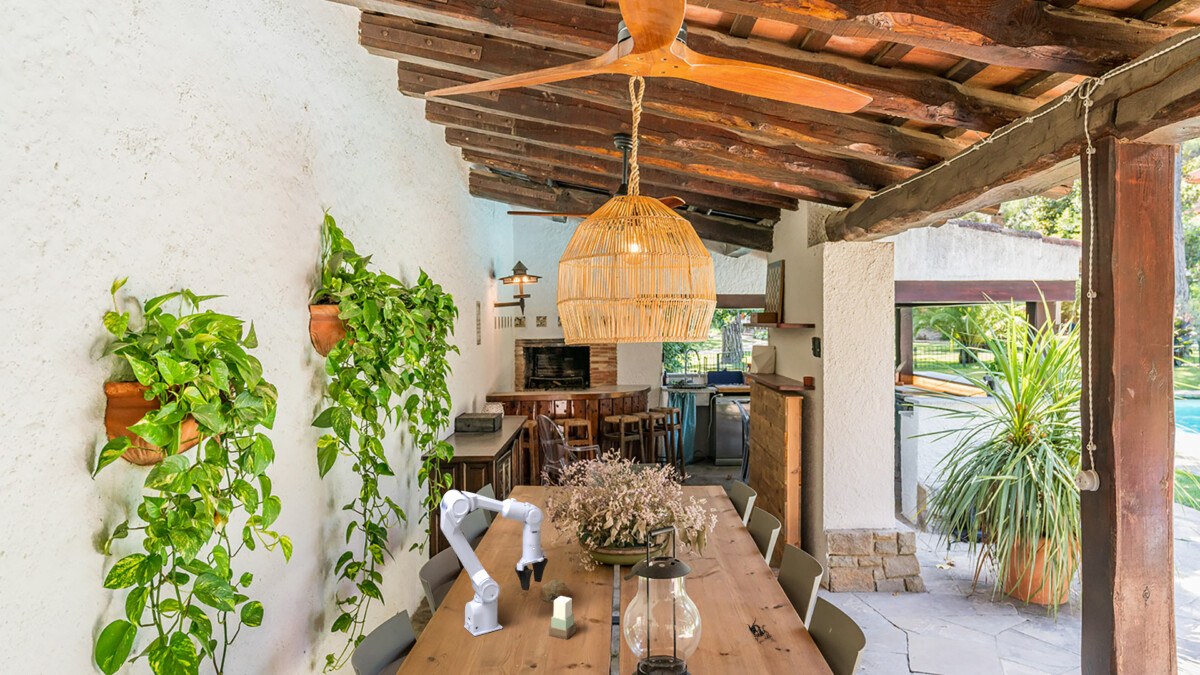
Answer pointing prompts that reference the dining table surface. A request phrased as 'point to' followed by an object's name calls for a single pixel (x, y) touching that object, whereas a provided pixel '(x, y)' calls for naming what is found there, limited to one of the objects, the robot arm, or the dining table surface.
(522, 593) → the dining table surface
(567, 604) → the white block
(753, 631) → the creature
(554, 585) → the brown rounded lump
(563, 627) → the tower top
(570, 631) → the tower base
